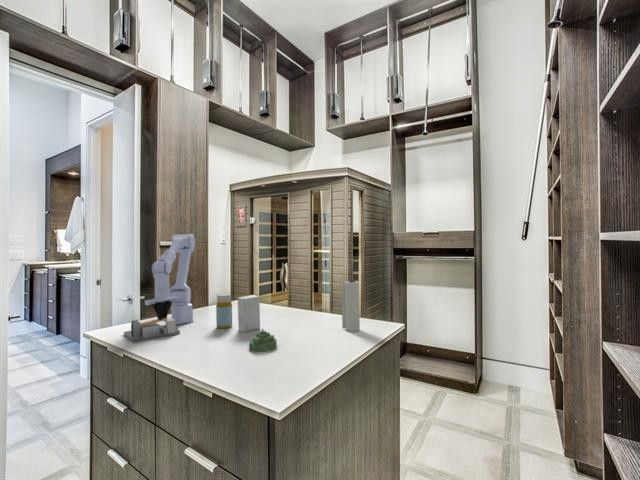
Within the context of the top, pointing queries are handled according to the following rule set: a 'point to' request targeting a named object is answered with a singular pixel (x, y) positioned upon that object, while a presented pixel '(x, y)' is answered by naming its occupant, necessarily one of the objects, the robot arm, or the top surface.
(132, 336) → the grey workpiece holding fixture
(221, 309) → the bottle
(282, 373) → the top surface
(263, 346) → the decorative artifact
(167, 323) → the clip
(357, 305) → the tall grey block
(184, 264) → the robot arm
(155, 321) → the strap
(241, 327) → the skincare box
